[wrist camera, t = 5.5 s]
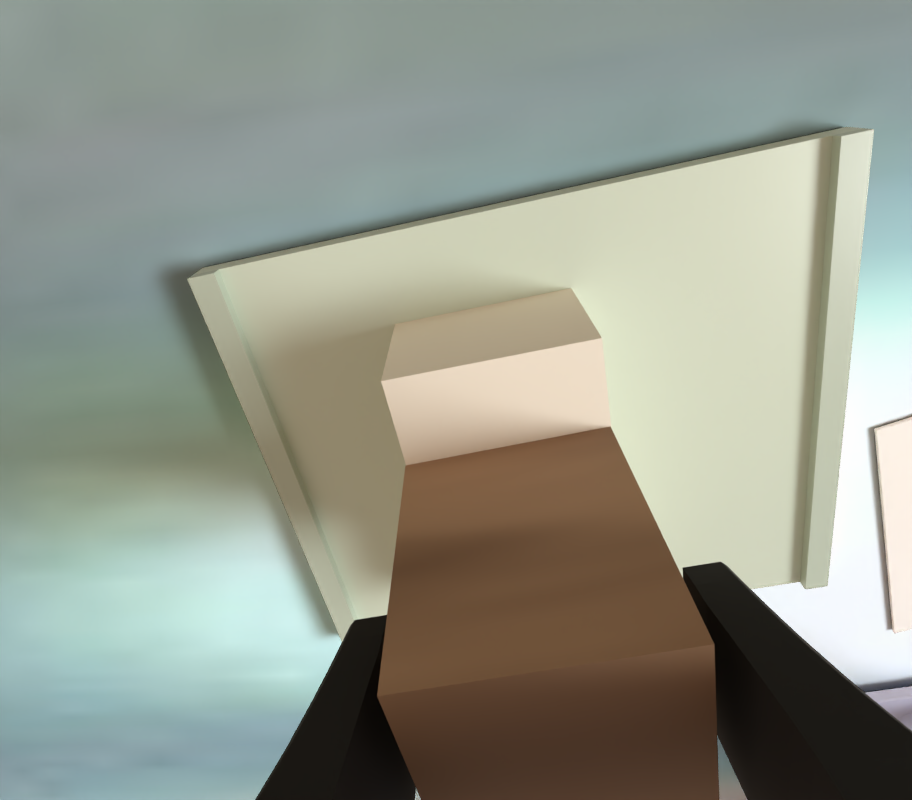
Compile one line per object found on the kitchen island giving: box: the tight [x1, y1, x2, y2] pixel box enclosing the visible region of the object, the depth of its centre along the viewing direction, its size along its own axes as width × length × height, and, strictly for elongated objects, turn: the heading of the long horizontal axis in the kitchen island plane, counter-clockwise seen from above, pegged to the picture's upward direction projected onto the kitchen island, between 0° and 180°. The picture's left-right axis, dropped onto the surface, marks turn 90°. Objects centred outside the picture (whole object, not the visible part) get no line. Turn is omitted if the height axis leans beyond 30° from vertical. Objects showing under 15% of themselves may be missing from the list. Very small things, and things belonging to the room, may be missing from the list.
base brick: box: [381, 288, 611, 465], centre depth 14 cm, size 8×4×3 cm, turn 12°
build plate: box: [187, 127, 874, 641], centre depth 15 cm, size 12×14×1 cm
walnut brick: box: [377, 426, 719, 800], centre depth 10 cm, size 4×4×5 cm
